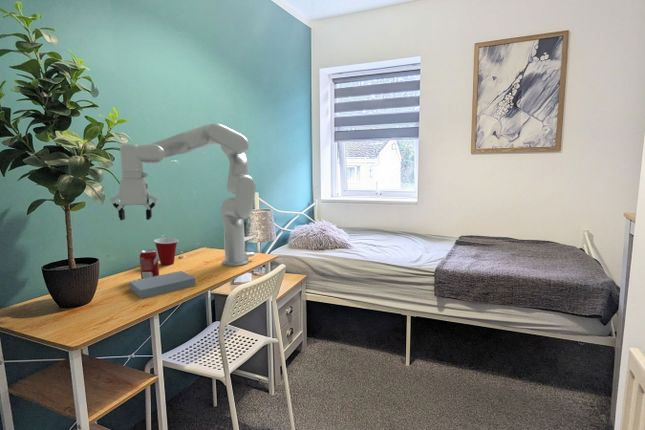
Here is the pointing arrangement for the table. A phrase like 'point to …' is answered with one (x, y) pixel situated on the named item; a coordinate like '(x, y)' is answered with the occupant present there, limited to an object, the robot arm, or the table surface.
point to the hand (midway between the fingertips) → (135, 219)
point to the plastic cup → (166, 250)
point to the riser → (162, 284)
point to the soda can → (149, 263)
